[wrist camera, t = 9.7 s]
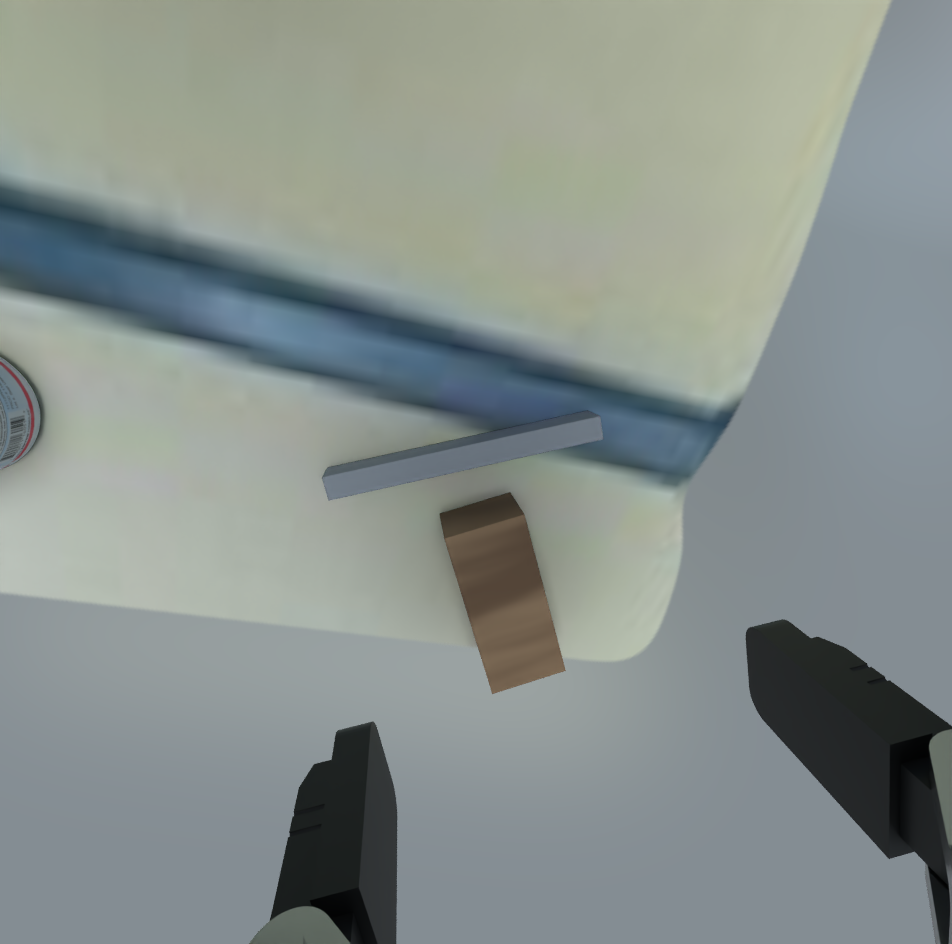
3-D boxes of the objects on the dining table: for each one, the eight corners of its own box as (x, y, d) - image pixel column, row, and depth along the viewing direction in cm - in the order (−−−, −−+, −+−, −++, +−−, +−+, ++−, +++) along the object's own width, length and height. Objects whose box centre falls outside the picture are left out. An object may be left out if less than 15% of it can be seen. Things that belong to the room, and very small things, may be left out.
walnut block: (444, 538, 27) (493, 696, 30) (524, 514, 28) (566, 672, 30) (439, 512, 31) (482, 653, 34) (509, 491, 31) (547, 633, 34)
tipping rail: (327, 467, 30) (322, 477, 28) (587, 410, 31) (600, 416, 29) (333, 489, 30) (328, 500, 28) (590, 432, 31) (603, 439, 29)
